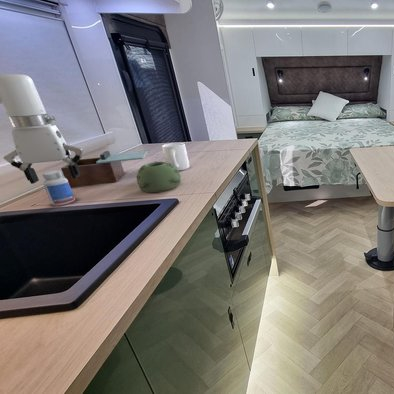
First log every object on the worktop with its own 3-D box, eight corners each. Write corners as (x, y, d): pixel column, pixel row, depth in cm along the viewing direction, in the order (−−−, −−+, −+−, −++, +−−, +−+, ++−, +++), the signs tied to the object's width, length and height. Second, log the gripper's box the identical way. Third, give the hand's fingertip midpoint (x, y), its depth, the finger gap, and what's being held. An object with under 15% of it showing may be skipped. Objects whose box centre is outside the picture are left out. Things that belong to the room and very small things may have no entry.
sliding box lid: (96, 163, 104) (94, 157, 103) (106, 155, 115) (104, 150, 114) (142, 159, 109) (140, 152, 109) (148, 152, 120) (146, 146, 119)
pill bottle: (80, 200, 92) (68, 170, 89) (60, 206, 87) (47, 176, 84) (67, 198, 94) (55, 169, 90) (47, 204, 89) (34, 174, 85)
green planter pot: (184, 189, 100) (178, 165, 97) (139, 197, 94) (131, 171, 90) (179, 177, 113) (174, 155, 109) (140, 183, 106) (133, 160, 103)
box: (68, 187, 103) (60, 168, 100) (81, 177, 114) (74, 159, 111) (116, 181, 108) (110, 163, 106) (124, 172, 119) (118, 155, 116)
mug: (188, 172, 119) (182, 147, 115) (164, 175, 116) (158, 149, 112) (190, 165, 129) (185, 142, 125) (169, 167, 126) (163, 143, 122)
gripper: (75, 118, 88) (95, 172, 94) (-4, 123, 81) (24, 180, 88) (65, 120, 81) (87, 178, 88) (-21, 126, 75) (10, 188, 81)
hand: (56, 179), depth 88 cm, fingers open, 9 cm apart
